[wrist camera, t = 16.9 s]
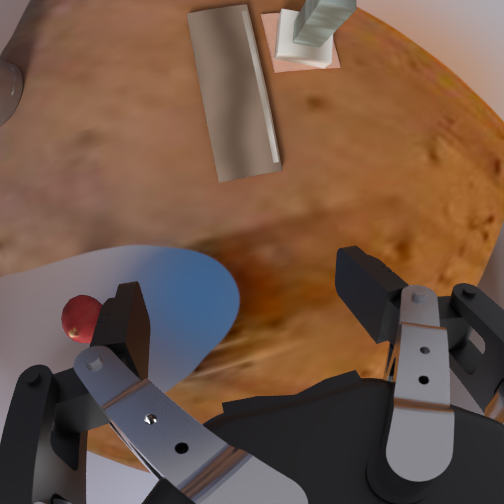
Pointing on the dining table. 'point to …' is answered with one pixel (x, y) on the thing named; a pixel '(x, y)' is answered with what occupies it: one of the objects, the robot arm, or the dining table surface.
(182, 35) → the dining table surface
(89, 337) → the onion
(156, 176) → the dining table surface
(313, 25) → the tall grey square pillar
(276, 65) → the end pad
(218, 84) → the grey-brown board
